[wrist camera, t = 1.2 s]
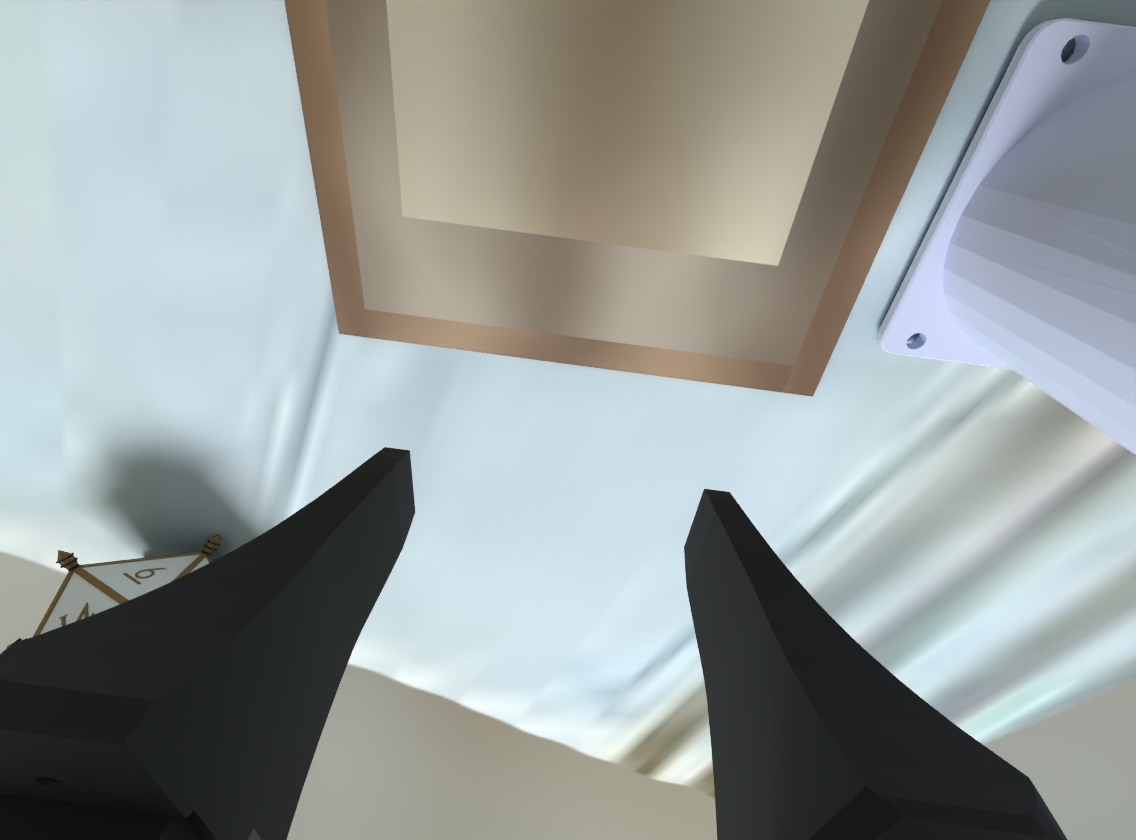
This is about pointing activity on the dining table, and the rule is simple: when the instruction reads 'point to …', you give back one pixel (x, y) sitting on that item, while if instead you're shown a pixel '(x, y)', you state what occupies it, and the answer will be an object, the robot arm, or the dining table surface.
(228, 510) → the dining table surface
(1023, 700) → the dining table surface
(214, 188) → the dining table surface
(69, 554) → the game die
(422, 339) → the shallow brown tray
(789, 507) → the dining table surface
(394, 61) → the birch block
